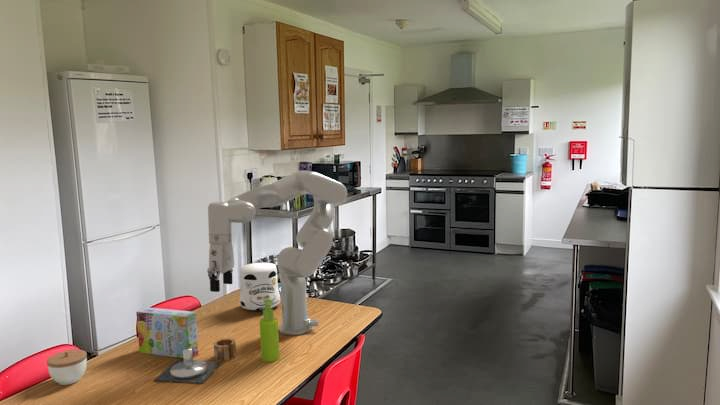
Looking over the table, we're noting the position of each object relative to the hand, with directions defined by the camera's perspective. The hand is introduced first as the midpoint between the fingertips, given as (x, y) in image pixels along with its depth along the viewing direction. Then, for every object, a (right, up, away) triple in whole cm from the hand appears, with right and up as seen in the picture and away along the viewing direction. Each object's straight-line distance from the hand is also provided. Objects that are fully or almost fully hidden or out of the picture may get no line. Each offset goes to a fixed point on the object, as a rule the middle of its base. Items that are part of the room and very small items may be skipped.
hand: (221, 287), depth 179 cm
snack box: (-18, -23, +1) cm, 29 cm away
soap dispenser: (+18, -23, -6) cm, 30 cm away
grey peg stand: (-7, -24, -14) cm, 29 cm away
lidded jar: (-42, -26, -17) cm, 53 cm away
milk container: (+5, -16, +45) cm, 48 cm away
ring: (+2, -23, -4) cm, 23 cm away
